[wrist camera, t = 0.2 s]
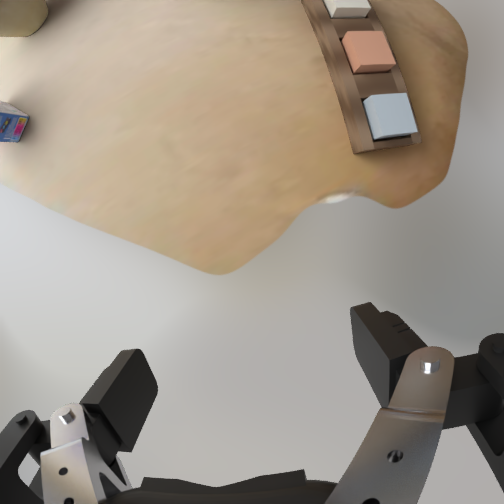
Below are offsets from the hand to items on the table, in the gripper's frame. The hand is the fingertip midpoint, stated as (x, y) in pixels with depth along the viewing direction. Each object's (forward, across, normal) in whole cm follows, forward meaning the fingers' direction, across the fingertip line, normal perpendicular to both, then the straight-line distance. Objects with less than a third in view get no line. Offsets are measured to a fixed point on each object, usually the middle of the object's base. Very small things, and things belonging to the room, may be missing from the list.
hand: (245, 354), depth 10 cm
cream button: (+26, -19, -29) cm, 43 cm away
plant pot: (+29, +32, -53) cm, 68 cm away
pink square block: (+26, -19, -20) cm, 38 cm away
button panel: (+29, -20, -20) cm, 40 cm away
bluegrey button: (+26, -20, -11) cm, 34 cm away
